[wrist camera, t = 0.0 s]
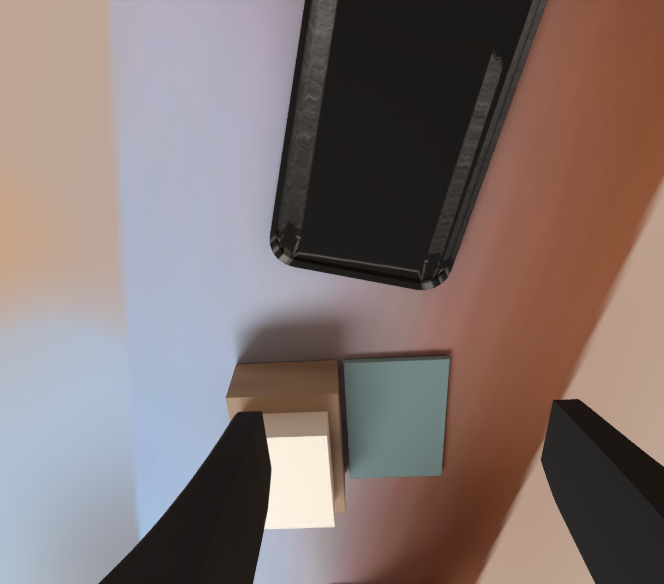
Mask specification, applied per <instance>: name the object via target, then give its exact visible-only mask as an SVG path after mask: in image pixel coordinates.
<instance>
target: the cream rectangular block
mask: <svg viewBox="0 0 664 584" xmlns="http://www.w3.org/2000/svg"><path fill="white" fill-rule="evenodd" d="M263 420H264V426H265V432H266V438H267V444H268V450H269V456H270V462H271V468H272V471H271V483H270V494H269V504H268V512H267V517H266V522H265V527H264V529H282V528H318V527H335V496H334V484H333V472H332V460H331V447H330V435H329V423H328V411H323V412H296V413H269V414H263Z"/></svg>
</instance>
